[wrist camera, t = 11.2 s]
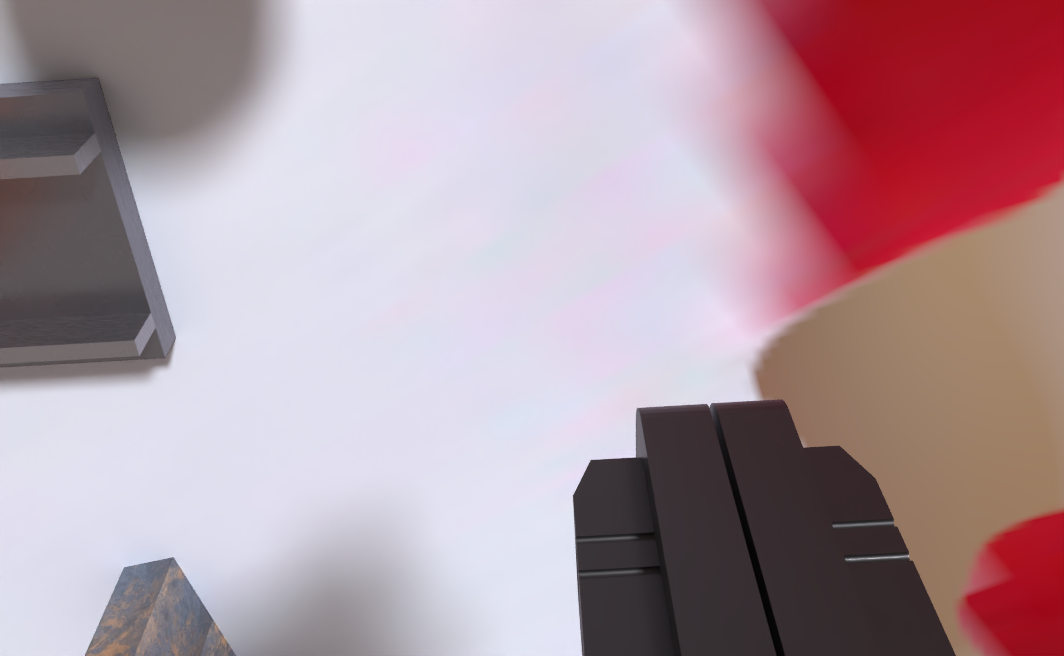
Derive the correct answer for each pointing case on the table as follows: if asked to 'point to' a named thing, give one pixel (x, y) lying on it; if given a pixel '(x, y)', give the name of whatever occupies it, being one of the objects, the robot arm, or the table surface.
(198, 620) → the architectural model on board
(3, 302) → the rail base
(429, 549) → the table surface
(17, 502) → the table surface
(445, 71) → the table surface
